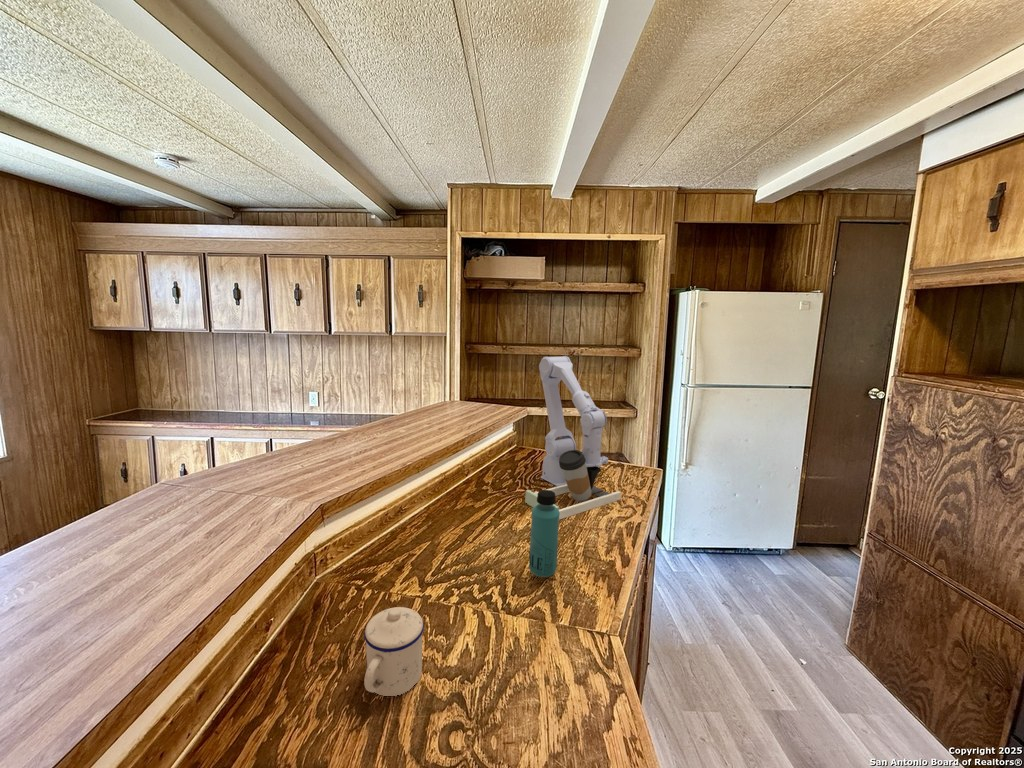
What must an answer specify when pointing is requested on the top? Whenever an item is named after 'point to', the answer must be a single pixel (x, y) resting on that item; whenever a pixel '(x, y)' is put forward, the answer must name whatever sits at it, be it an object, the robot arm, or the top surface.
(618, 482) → the top surface
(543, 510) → the beverage bottle
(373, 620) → the teacup with lid
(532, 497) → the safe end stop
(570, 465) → the coffee cup
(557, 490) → the lane box
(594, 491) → the trap pits
